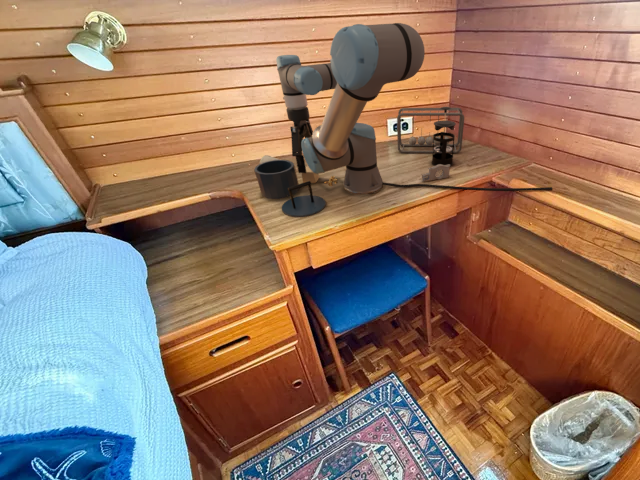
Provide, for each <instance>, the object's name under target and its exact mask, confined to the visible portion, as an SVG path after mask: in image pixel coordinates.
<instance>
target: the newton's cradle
mask: <svg viewBox="0 0 640 480" xmlns="http://www.w3.org/2000/svg"><path fill="white" fill-rule="evenodd" d="M440 108H441V107H401V108H400V109H399V110H398V113H397V117H396V131H397V134H396V135H397V150H398V152H399V153H401V154H435V153H437V152H435V151H434V150H404V148H405V147H410V148H412V147H413V148H414V147H418V148H419V147H422V148H423V147H430V148H433V136H431V133H429V135H428V136H427V137H426V138H425V137H424V136H423V129H420V130H421V134H420V135H421V136H419V137H418V138H416V137H415V136H414V135H412V136H410V137H409V138H408V143H402V117H412V123H415V120H414V119H415V117H429V121H431V119H432V118H431V117H437V121H440V117H445V113H444V110H442V109H440ZM450 108H451V109H449V110H447V113H446V119H445V121H448V116H449V117H451V116H453V117H454V116H455V117H456V116H457V117H459V120H458V121H459V122H458V132H457V141H456V143H454V150H453V154H459V153H460V152H461V151H462V149H463V148H462V147H463V138H464V129H465V128H464V126H465V125H464V124H465V115H464V114H463V109H461V108H460V107H450ZM406 111H407V112H406ZM415 111H416V112H415ZM418 111H419V112H418ZM427 111H428V112H427ZM433 111H436V112H433ZM440 111H441V112H440ZM448 111H455V112H448ZM456 111H457V112H456ZM447 129H448V127H445V132H447ZM436 138H440V136H437V137H436ZM449 138H450V137H449V136H445V139H449ZM436 146H440V142H438V141H435V140H434V147H436ZM447 146H449V147H452V148H453V143H450V142H447ZM401 147H402V149H401ZM456 147H458V149H457V148H456ZM450 154H452V152H450Z"/></svg>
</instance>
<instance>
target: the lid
mask: <svg viewBox="0 0 640 480" xmlns="http://www.w3.org/2000/svg"><path fill="white" fill-rule="evenodd" d="M304 187H308V193H309V195H308V194H306V195H298V196H295V197H294V195H293V194H292V190H295V189H298V188H299V189H301V188H304ZM288 191H289V193H290V196H289V197H290V198H289V199H288V200H286V201H285V202H284V203H283V204H282V205H281V211H282V213H283V214H284V215H286V216H288V217H292V218H304V217H309V216H313V215H316V214H318V213H320V212H322V211H323V210H325V207H326V205H327V203H326V200H325V199H324V198H323V197H321V196H319V195H314V194H313V189H312V183H311V182H310V181H308V182H305V183H303V182H302V183H298V185H295V186H292V187H289V188H288Z"/></svg>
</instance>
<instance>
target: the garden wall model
mask: <svg viewBox="0 0 640 480" xmlns="http://www.w3.org/2000/svg"><path fill="white" fill-rule="evenodd" d="M450 168H451V166H450V164H448V165H441V164H439V165H436V166H434V165H433V166H432V167H427V169H428V172H426V173H421V181H422V182H423V183H424V182H430V181H434V180H435V181H436V180H442V179H446V178H450Z"/></svg>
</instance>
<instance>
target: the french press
mask: <svg viewBox="0 0 640 480" xmlns="http://www.w3.org/2000/svg"><path fill="white" fill-rule="evenodd" d="M439 108H440V109H442V110H444V111H443V113H445V116H444V120H439V121H438V120H436V121H435V122H433V126H434V130H435V131H440V130H442V129H443V131H440V132H436V133H434V134H433V136H432V138H433V143H432V144H433V147H432V151H435V152H437V153H432V157H431V158H432V159H431V165H432V166H433V167H434V166H436V165H439V164H441V165H448V164H450V167H452V166H453V164H454V161H453V160H454V153H453V151H455V147H454V144H455V137H456V136H455V134H454V133H451V132H447V131H446V127H447V129H450V131H454V130H455V126H456V122H455V121H451V120H447V121H446V119H447V116H446V113H448V112H447V110H449V109H451V108H452V107H450V106H441V107H439ZM437 136H438V137H440V138H436V137H437ZM445 136H446V137H448V138H449V139H445ZM434 140H435V141H438V142H440V146H436V147H434ZM447 142H449V143H450V142H452V144H453V147H449V146H447ZM450 152H452V153H450Z"/></svg>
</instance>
